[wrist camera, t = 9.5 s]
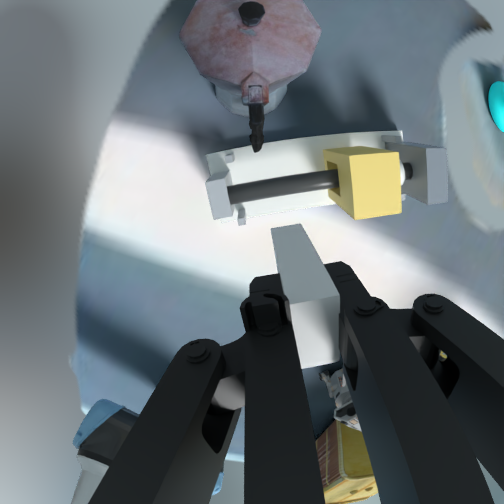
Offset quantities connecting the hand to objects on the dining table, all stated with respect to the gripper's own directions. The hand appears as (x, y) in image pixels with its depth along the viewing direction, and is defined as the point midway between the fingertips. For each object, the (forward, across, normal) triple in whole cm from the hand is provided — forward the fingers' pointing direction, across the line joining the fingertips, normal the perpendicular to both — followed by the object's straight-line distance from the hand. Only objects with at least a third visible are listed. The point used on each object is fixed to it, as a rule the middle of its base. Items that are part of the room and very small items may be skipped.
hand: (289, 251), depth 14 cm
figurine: (+23, +10, -36) cm, 43 cm away
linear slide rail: (+22, +6, 0) cm, 23 cm away
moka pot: (+23, +1, +13) cm, 26 cm away
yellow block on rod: (+19, +10, 0) cm, 21 cm away
